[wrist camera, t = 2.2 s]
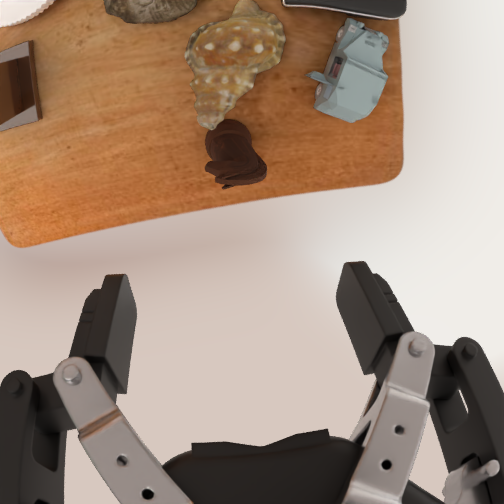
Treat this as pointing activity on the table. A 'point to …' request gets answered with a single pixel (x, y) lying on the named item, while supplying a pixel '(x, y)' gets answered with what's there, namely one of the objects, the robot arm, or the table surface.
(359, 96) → the toy car
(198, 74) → the seashell
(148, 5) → the fossilized seashell
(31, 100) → the green pedestal cup
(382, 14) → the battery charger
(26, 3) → the plastic lid
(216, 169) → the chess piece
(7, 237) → the table surface
